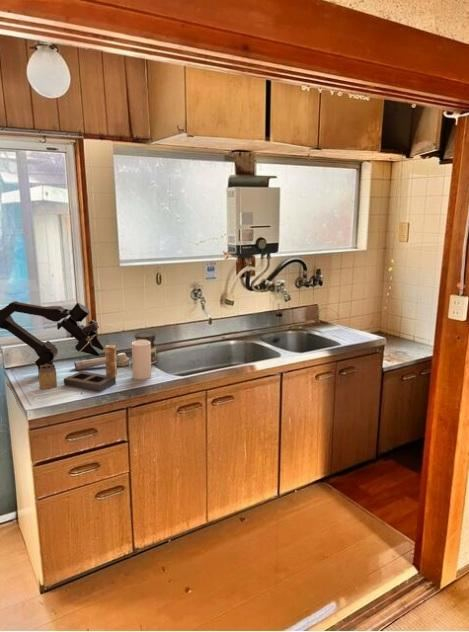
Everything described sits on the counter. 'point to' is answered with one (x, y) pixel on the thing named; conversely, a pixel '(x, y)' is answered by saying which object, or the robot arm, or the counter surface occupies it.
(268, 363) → the counter surface
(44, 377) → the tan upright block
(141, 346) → the cup
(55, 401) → the counter surface
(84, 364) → the wooden mallet
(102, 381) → the rail
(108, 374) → the wood peg
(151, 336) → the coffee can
